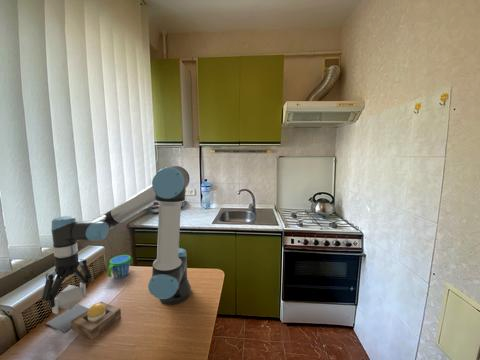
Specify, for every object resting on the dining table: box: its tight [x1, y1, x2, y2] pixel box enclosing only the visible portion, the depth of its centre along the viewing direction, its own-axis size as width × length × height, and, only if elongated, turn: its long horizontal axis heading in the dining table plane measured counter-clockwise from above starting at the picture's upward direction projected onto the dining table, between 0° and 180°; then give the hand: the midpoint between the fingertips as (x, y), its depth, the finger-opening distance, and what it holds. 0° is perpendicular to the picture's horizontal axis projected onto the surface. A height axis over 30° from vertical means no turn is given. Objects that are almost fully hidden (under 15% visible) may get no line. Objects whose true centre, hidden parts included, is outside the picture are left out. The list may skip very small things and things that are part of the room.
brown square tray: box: [71, 301, 122, 341], centre depth 86 cm, size 12×12×4 cm
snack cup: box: [107, 254, 133, 280], centre depth 120 cm, size 16×10×10 cm
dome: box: [88, 302, 106, 323], centre depth 85 cm, size 6×6×7 cm
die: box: [56, 284, 83, 311], centre depth 88 cm, size 8×9×10 cm
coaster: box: [45, 303, 90, 334], centre depth 89 cm, size 12×12×1 cm
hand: (70, 304), depth 88 cm, fingers closed on die, 10 cm apart
